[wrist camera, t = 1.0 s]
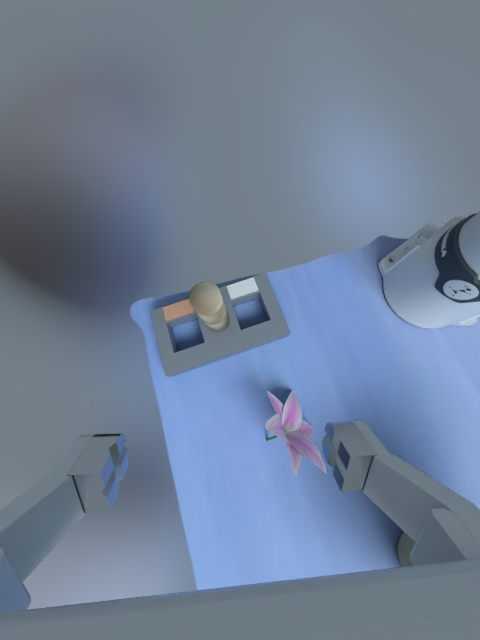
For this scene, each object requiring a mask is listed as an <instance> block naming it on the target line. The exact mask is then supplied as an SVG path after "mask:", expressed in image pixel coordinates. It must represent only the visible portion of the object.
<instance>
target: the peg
mask: <svg viewBox="0 0 480 640" xmlns="http://www.w3.org/2000/svg"><path fill="white" fill-rule="evenodd" d="M189 302H190V304H191V306H192V307H193V309H194V310H195V311H196V312H197V314H198V315H199V316H200V318H201V319H202V320H203V321H204V323H205V324H206V325H207V327H208V328H209V329H210V330H211V331H212V332H215V333H221V332H223V331H225V330H226V329H227V328H228V326H229V323H230V320H229V316H228V313H227V310H226V307H225V304H224V301H223V298H222V295H221V292H220V290H219V288H218V287H217V286H216V285H215V284H213V283H211V282H200V283H198V284H196V285H195V286H194V287H193V288H192V289H191V291H190V293H189Z"/></svg>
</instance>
